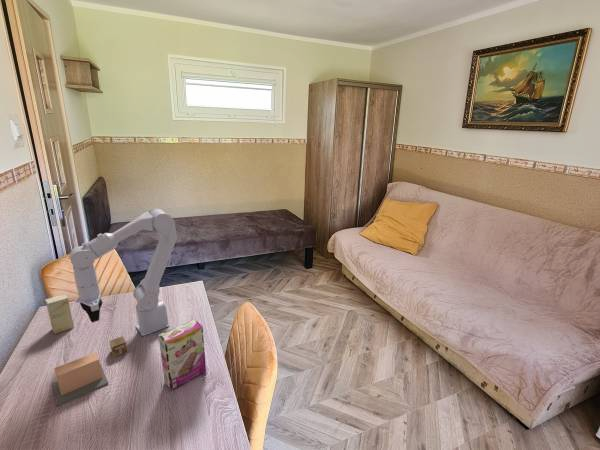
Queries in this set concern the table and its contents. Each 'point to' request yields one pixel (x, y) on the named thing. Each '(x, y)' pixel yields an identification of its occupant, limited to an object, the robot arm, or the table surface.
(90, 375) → the block
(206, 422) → the table surface
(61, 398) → the mat
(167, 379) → the candy bar box
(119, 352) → the brown cube
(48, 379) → the table surface
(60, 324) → the skincare box
